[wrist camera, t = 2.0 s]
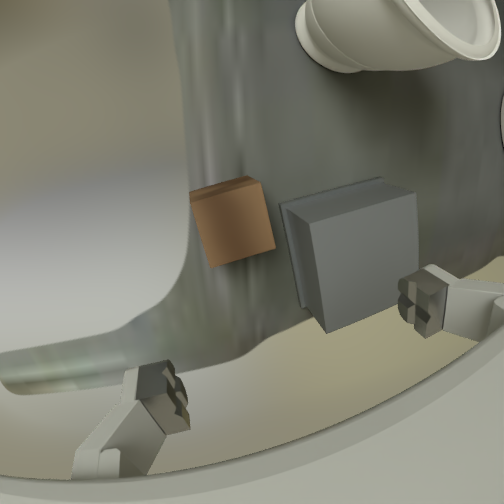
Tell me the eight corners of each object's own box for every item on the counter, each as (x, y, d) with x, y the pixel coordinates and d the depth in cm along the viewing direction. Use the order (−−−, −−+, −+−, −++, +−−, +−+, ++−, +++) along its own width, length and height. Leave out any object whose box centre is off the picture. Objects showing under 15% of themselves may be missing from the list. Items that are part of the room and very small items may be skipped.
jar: (384, 10, 22) (490, -31, 8) (380, 96, 25) (507, 88, 12) (287, -23, 20) (366, -111, 6) (276, 69, 23) (374, 7, 9)
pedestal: (380, 176, 28) (419, 186, 23) (388, 272, 32) (420, 296, 27) (278, 203, 27) (302, 220, 22) (299, 305, 31) (322, 338, 26)
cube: (246, 175, 26) (260, 182, 21) (260, 229, 28) (275, 248, 23) (189, 191, 25) (190, 202, 21) (205, 246, 27) (210, 268, 22)
